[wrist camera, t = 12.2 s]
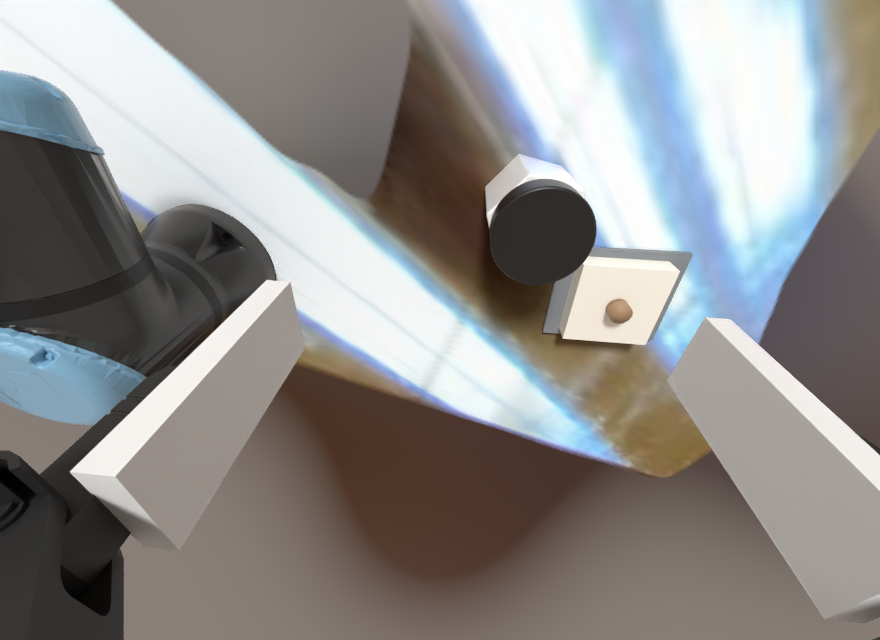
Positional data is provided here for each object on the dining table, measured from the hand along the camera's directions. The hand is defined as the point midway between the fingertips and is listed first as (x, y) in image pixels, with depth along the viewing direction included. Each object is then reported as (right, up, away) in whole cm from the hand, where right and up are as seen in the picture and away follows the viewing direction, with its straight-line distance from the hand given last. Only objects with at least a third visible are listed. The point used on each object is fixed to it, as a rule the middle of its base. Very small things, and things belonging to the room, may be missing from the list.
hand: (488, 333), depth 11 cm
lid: (+19, +3, +30) cm, 36 cm away
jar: (+7, +14, +25) cm, 30 cm away
